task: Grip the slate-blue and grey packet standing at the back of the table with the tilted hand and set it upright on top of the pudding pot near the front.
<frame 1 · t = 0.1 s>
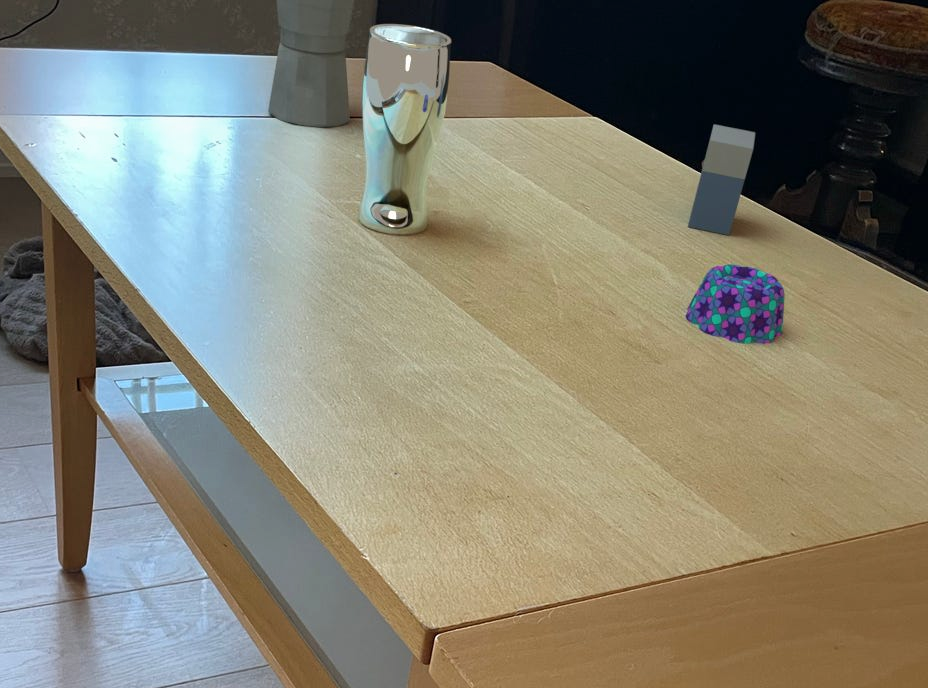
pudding: (726, 345, 90), on the table
beer glass: (392, 224, 101), on the table
coffeepot: (305, 113, 125), on the table
packet: (710, 221, 113), on the table
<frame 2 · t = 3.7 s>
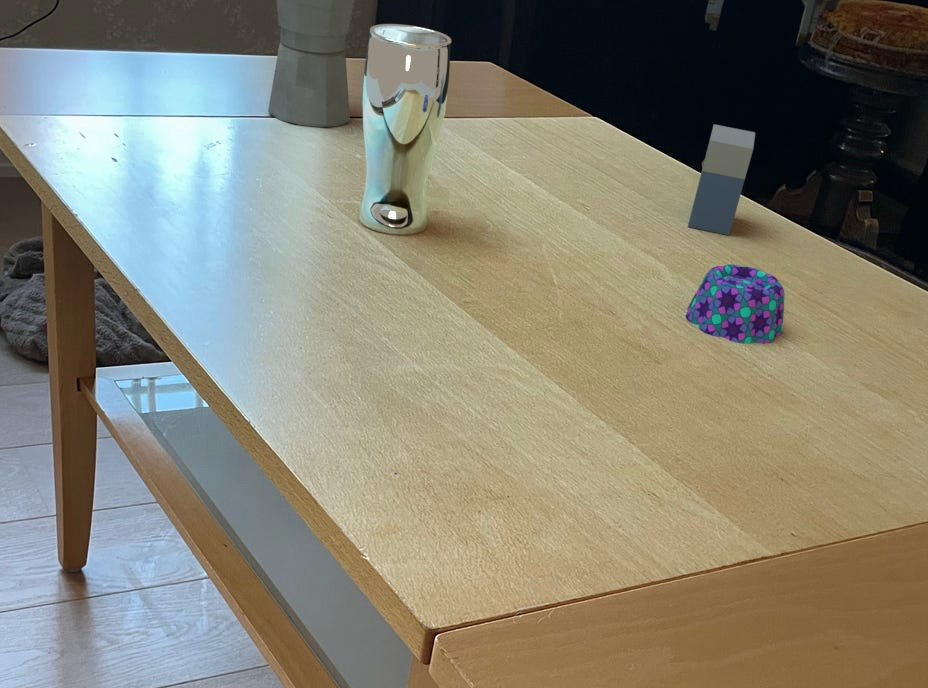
hand: (756, 33, 112), 15 cm above the table, tool tilted 45°, fingers open, 8 cm apart
nothing on the table moved.
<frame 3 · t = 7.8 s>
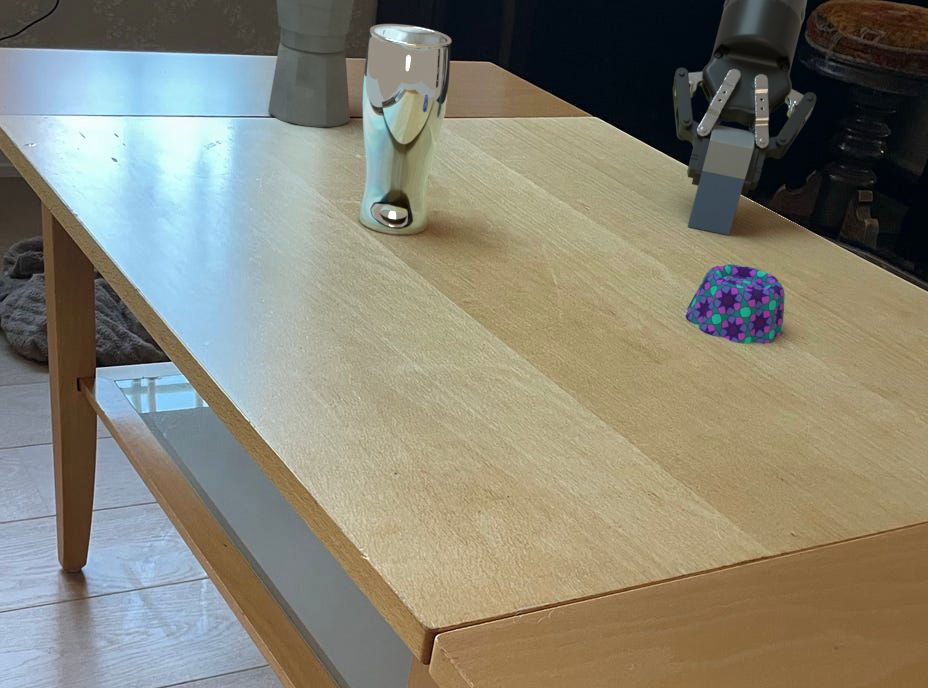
hand: (720, 184, 109), 4 cm above the table, tool tilted 45°, fingers closed on packet, 4 cm apart
packet: (710, 221, 113), on the table, touching gripper
everything else where it was.
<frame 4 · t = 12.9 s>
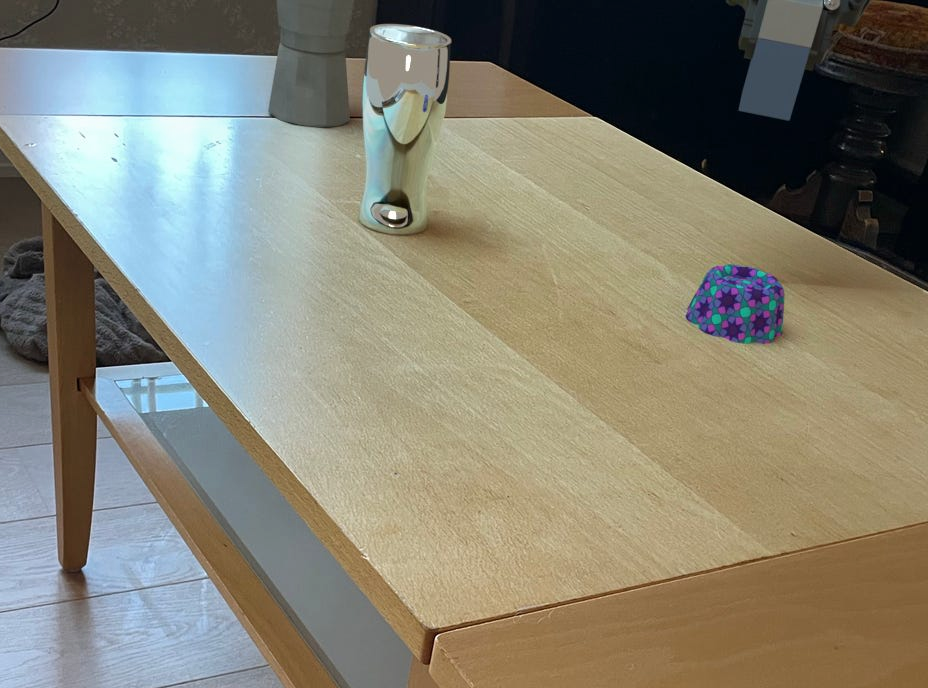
hand: (779, 56, 89), 18 cm above the table, tool tilted 45°, fingers closed on packet, 4 cm apart
packet: (764, 107, 93), point 14 cm above the table, touching gripper
everything else where it was.
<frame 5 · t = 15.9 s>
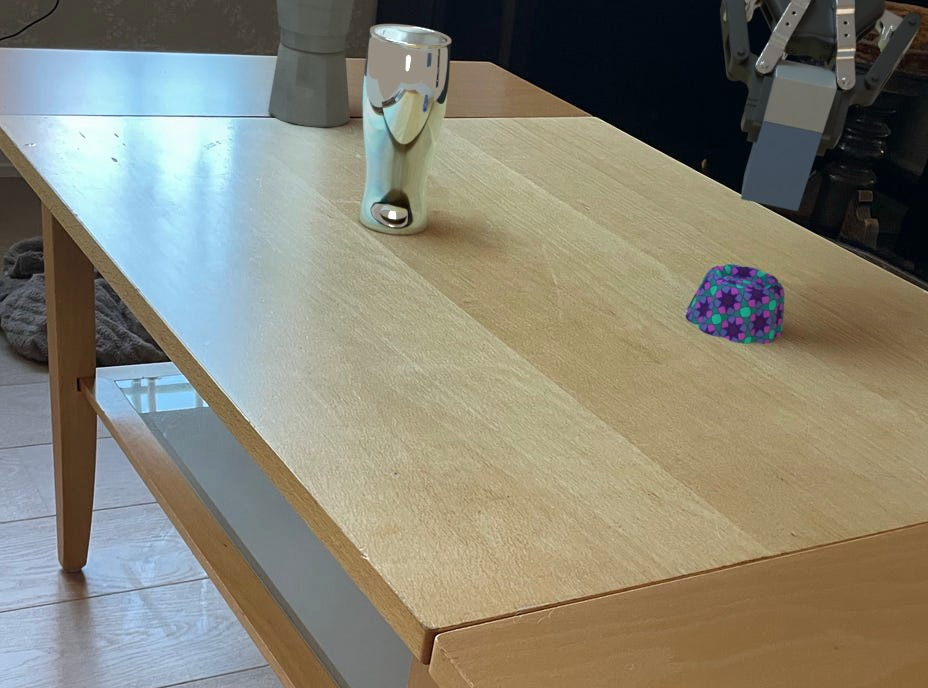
hand: (787, 141, 79), 15 cm above the table, tool tilted 45°, fingers closed on packet, 4 cm apart
packet: (769, 193, 83), point 11 cm above the table, touching gripper
everything else where it was.
when the fingers open (9 cm above the table, at t = 18.0 s): packet stays where it is, resting on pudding.
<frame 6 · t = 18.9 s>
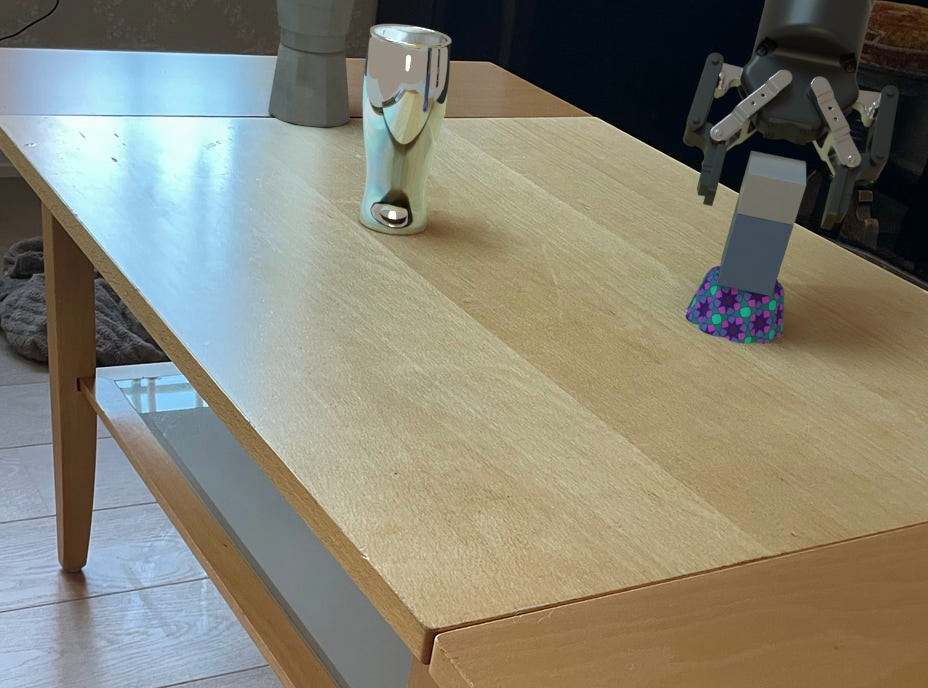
hand: (767, 211, 82), 11 cm above the table, tool tilted 45°, fingers open, 8 cm apart
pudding: (726, 345, 90), on the table, touching packet
packet: (745, 276, 87), point 5 cm above the table, touching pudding
everything else where it was.
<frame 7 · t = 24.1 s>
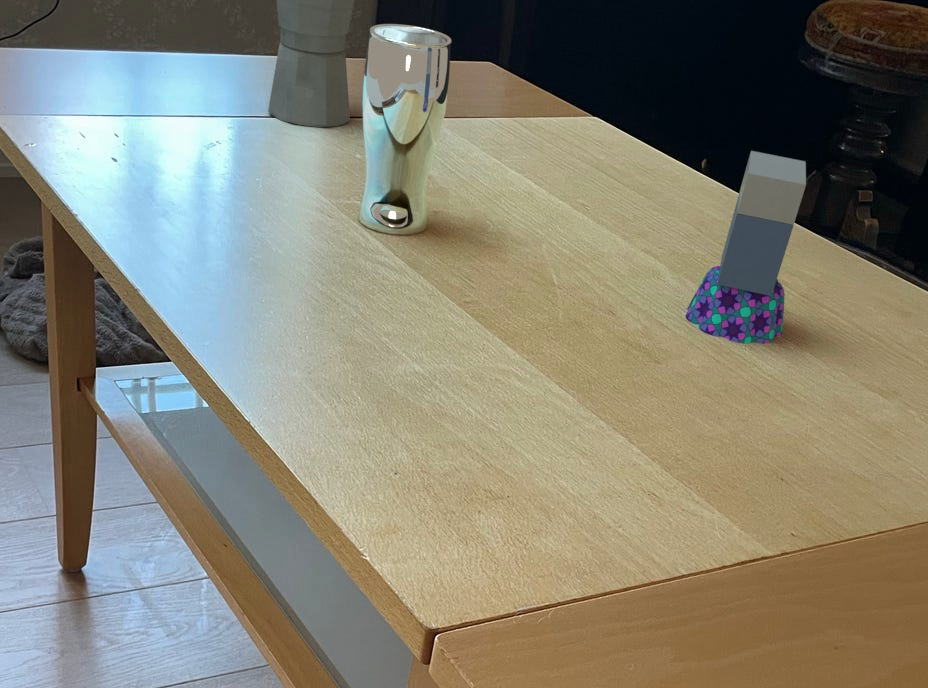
nothing on the table moved.
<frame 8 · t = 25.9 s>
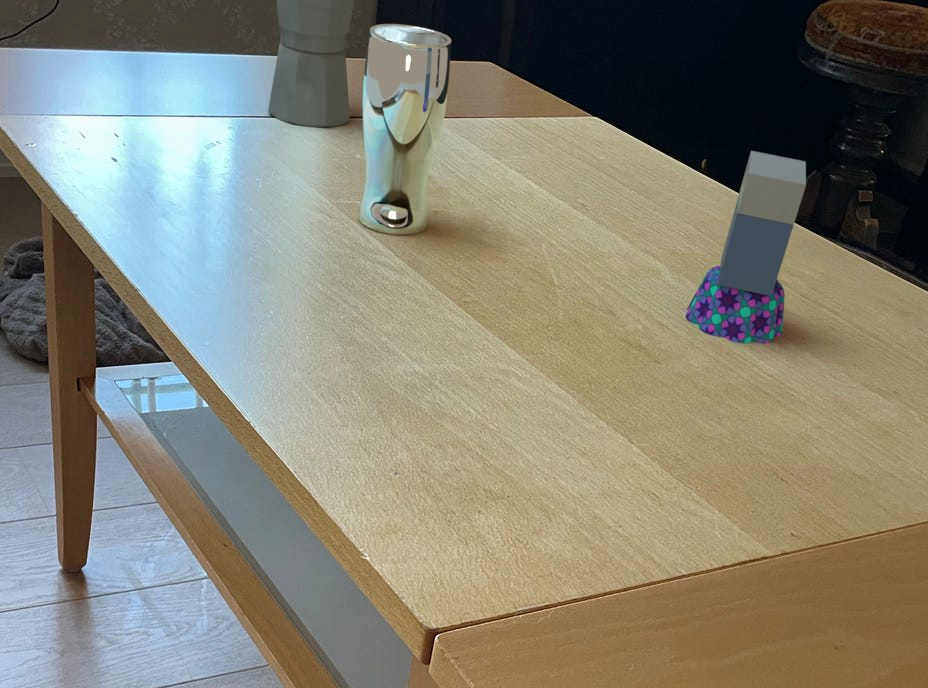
nothing on the table moved.
at the end: packet inside the target area on the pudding (0.1 cm from its centre), point 5.5 cm above the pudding's base; packet tilted 0°; the gripper is holding nothing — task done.
